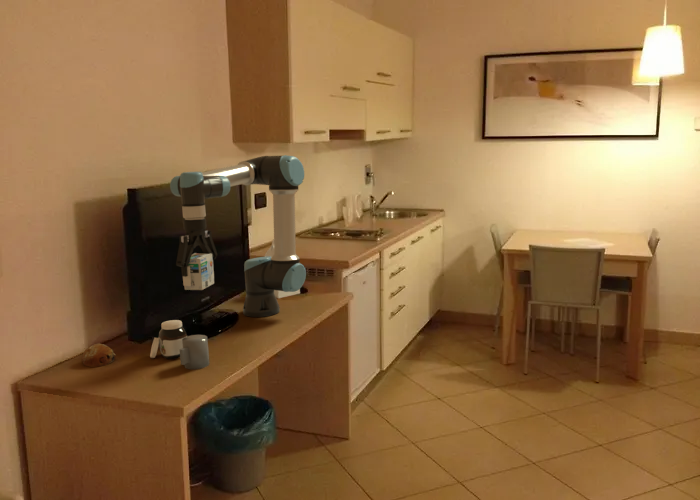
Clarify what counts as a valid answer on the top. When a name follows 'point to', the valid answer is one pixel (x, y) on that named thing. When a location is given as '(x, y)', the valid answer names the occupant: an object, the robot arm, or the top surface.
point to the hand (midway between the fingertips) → (199, 281)
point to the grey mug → (194, 352)
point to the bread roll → (98, 355)
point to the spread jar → (169, 340)
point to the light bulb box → (201, 271)
